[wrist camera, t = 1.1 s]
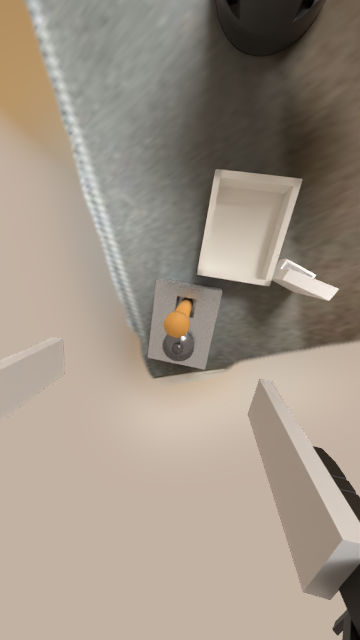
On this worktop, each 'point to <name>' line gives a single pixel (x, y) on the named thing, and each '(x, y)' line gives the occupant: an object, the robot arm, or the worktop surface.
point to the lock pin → (179, 319)
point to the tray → (246, 225)
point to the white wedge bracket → (301, 280)
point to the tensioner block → (201, 318)
